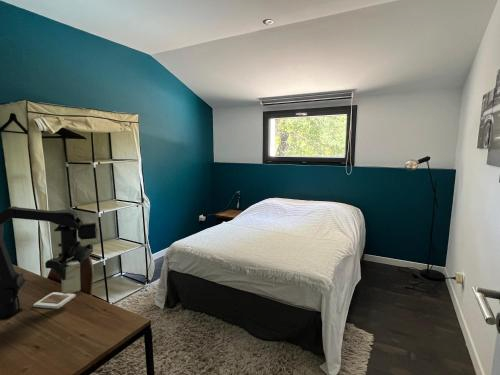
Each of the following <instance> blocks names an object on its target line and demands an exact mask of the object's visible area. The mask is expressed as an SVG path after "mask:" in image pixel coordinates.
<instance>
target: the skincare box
mask: <svg viewBox="0 0 500 375" xmlns="http://www.w3.org/2000/svg"><path fill="white" fill-rule="evenodd" d="M66 265H69V266H68V267H67V268H66V278H65V280H62V279H61V278H60V279H61V293H63V294H73V293H75V292H79V291H81V266H80V263H79V261H78V260H76V261H71V260H70V261H67V264H66Z"/></svg>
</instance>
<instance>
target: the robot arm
mask: <svg viewBox="0 0 500 375" xmlns="http://www.w3.org/2000/svg"><path fill="white" fill-rule="evenodd" d="M11 219H20V220H31V221H39V222H42V221H43V222H49V223H52V224H54V225H58V226H57V227H56V228H54V231H53V232H60V243H58V245H57V246H58V247H60V250H61V251H60V253H58V257H51V258H50V259H48V260H46V261H45V265H44V266H45V269H52V270H54V271H55V272H56V274H58V276H59V277H60V279H62V280H65V278H66V268H67V267H68V266H69V265H66V264H67V262H68V260H72V261H76V260H78V261H79V263H80V267H81V266H82V264H83V263H82V262H83V261H85V260H86V259H87V258H90V256H91V254H92V253H93V252H94V246H93V244H92V243H88V244H87V245H81V244H82V243H81V241H80V240H82V241H83V240H95V239H96V240H97V239H98V236H99V235H98V231H99V230H98V225H97V222H89V223H88V222H87V223H84V221H83V220H82V219H81V218H80V217H79V216H78V213H77V212H76V210H74V209H58V210H57V209H56V210H49V209H37V208H27V207H19V206H18V207H17V206H15V205H14V206H12V205H11V206H10V207H7V208H5V209H4V210H3V211H1V212H0V320H9V319H11V318H13V317H14V316H15V315H17V314H19V313H21V312H22V311H24V309H23V308H21V305H20V304H21V303H20V297H19V293H20V292H21V291H22V289H24V288H25V285H26V282H27V280H26V279H25V277H24V273H23V272H20V273H18V272H17V271H16V270H15V268H14V266H13V263H12V259H11V257H10V255H9V251H8V249H7V248H8V247H7V246H6V243H5V241H4V233H5V227H4V224H6V223H7V222H8V221H11ZM78 238H79V239H80V240H78Z"/></svg>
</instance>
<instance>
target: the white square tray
mask: <svg viewBox="0 0 500 375" xmlns="http://www.w3.org/2000/svg"><path fill="white" fill-rule="evenodd" d="M75 297H76V294H75V293H68V294H63V292H56V291H55V292H51V293H49V294H47V295H46V296H44V297H43V298H42V299H40V300H38V301H36V302H35V303H33V307H34V308H35V307H36V308H44V309H46V308H47V309H54V310H55V309H56V310H58V309H60V308H61V307H63V306H64V305H65V304H66V303H68V302H70V301H71V300H72V299H74V298H75Z"/></svg>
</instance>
